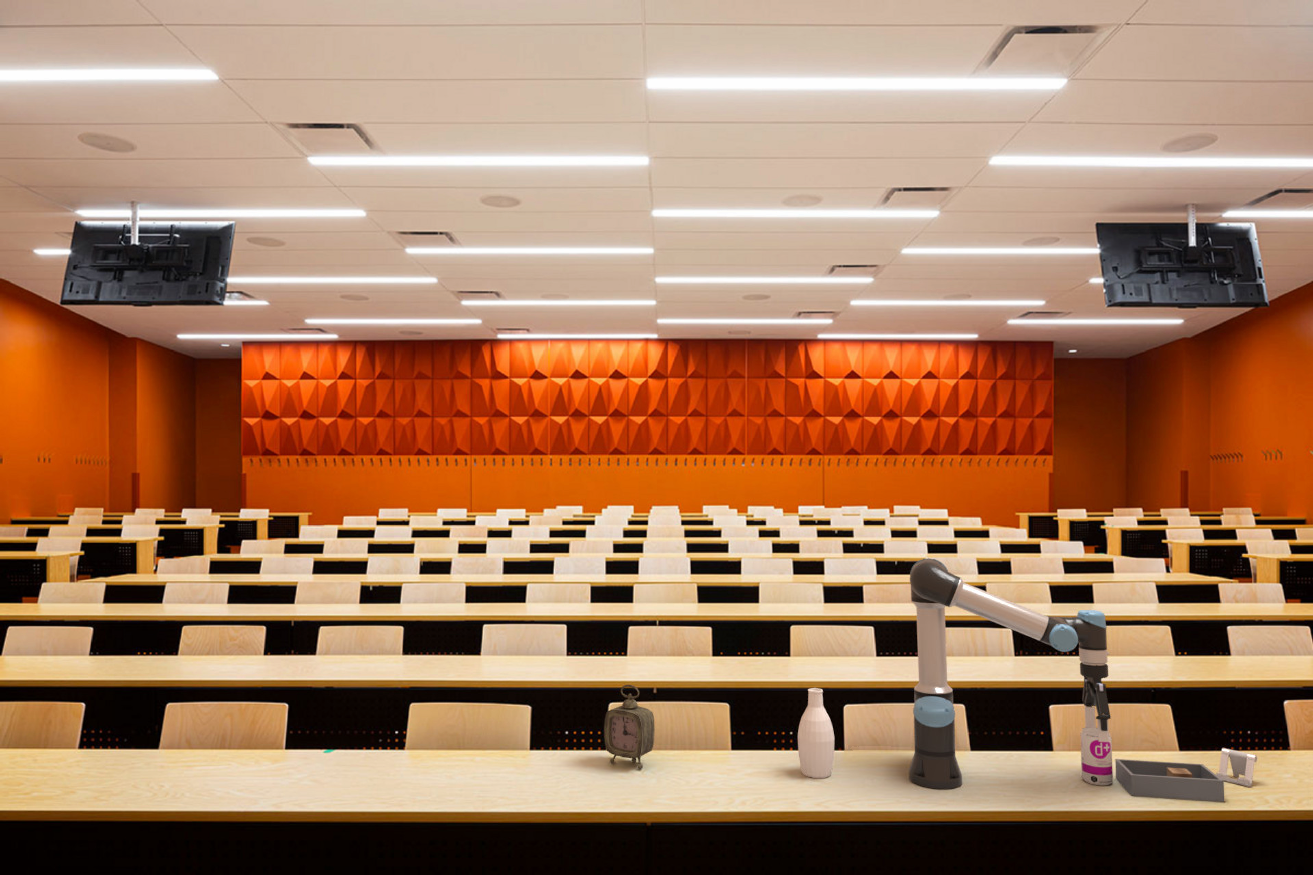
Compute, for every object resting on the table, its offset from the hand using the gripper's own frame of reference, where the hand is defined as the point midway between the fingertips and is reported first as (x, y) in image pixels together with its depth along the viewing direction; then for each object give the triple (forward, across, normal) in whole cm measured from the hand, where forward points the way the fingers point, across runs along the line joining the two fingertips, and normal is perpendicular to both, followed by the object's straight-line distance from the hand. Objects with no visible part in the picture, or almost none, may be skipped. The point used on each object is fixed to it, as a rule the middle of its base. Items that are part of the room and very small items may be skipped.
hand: (1097, 734), depth 257 cm
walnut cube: (+13, -4, -20) cm, 25 cm away
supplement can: (+14, 0, 0) cm, 14 cm away
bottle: (+13, -10, +82) cm, 84 cm away
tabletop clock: (+12, -13, +140) cm, 142 cm away
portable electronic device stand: (+14, +9, -40) cm, 44 cm away
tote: (+14, -3, -18) cm, 23 cm away
